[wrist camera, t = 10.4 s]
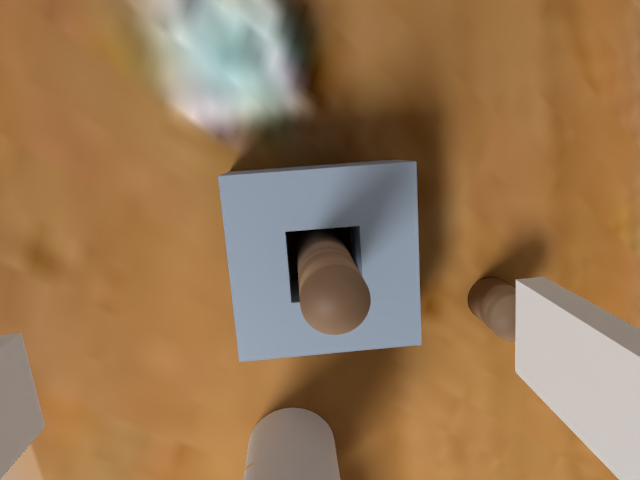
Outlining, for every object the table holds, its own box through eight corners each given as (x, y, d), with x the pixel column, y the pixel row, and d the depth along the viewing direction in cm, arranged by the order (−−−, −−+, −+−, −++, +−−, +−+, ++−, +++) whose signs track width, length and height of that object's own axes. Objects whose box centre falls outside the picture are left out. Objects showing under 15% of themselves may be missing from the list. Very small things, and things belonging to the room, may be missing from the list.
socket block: (229, 171, 38) (217, 176, 32) (397, 159, 38) (416, 161, 32) (246, 330, 40) (239, 361, 35) (402, 316, 41) (421, 344, 35)
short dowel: (467, 278, 41) (491, 296, 36) (511, 274, 41) (541, 292, 36) (467, 320, 42) (491, 343, 37) (510, 316, 42) (539, 339, 37)
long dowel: (294, 226, 39) (297, 270, 25) (341, 223, 39) (368, 264, 25) (298, 272, 40) (302, 338, 26) (344, 268, 40) (372, 331, 26)
